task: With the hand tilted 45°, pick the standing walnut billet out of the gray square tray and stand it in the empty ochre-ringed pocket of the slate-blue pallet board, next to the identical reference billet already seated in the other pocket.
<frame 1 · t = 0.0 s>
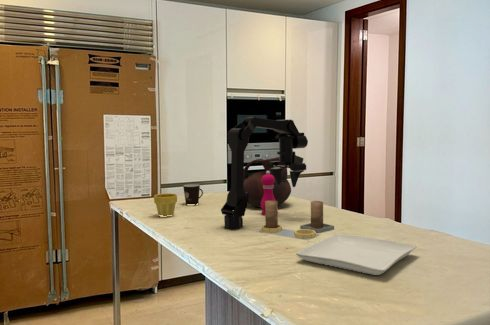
hand: (286, 185, 184), 15 cm above the table, tool pointing down, fingers open, 9 cm apart
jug: (266, 206, 217), on the table
gray square tray: (317, 232, 163), on the table
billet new: (317, 230, 163), resting on gray square tray
coffee mug: (193, 205, 224), on the table
square plate: (357, 260, 131), on the table
pink bowling pin: (268, 214, 197), on the table
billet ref: (271, 230, 163), point 1 cm above the table, touching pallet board
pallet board: (287, 236, 158), on the table
plant pot: (166, 216, 198), on the table
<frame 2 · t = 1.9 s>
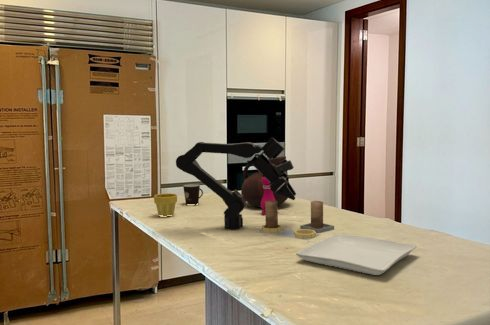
hand: (295, 197, 163), 13 cm above the table, tool tilted 45°, fingers open, 9 cm apart
nothing on the table moved.
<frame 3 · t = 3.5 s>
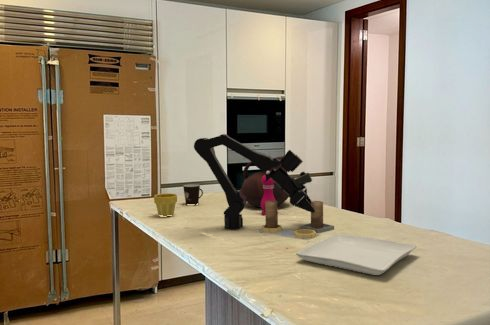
hand: (314, 209, 163), 9 cm above the table, tool tilted 45°, fingers open, 9 cm apart
nothing on the table moved.
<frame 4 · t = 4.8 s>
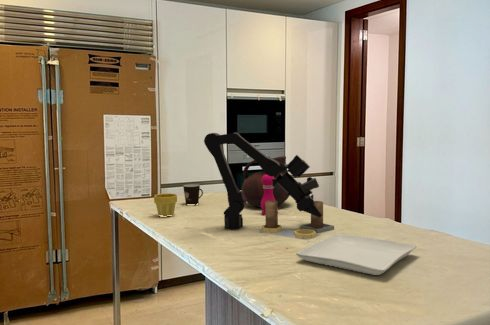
hand: (320, 215, 162), 7 cm above the table, tool tilted 45°, fingers closed on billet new, 5 cm apart
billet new: (317, 230, 163), point 1 cm above the table, touching gripper, gray square tray
everything else where it was.
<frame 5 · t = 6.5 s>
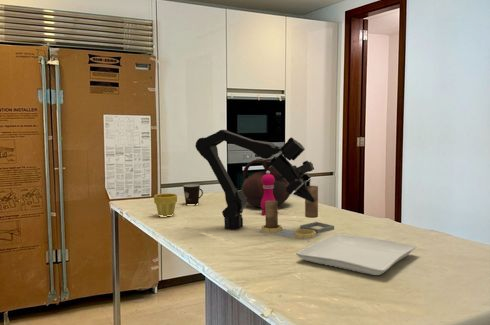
hand: (315, 200, 156), 13 cm above the table, tool tilted 45°, fingers closed on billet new, 5 cm apart
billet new: (311, 216, 157), point 7 cm above the table, touching gripper
everything else where it was.
when the fingers open (8 cm above the table, at t = 8.5 s): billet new stays where it is, resting on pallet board.
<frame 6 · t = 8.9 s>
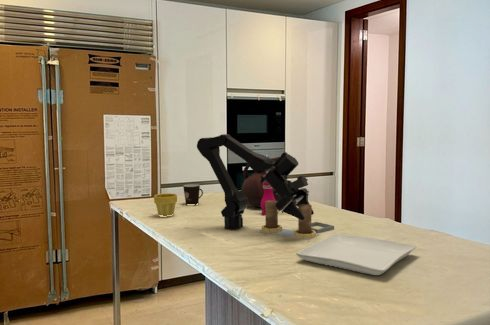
hand: (308, 216, 152), 8 cm above the table, tool tilted 45°, fingers open, 9 cm apart
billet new: (304, 235, 154), point 1 cm above the table, touching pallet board
everything else where it was.
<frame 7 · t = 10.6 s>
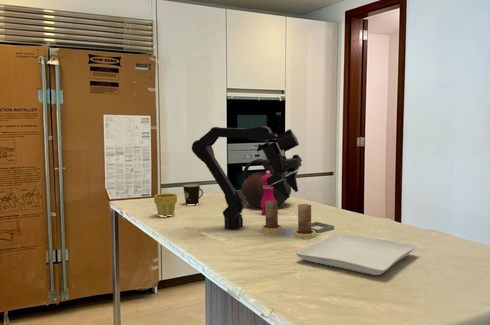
hand: (292, 194, 161), 15 cm above the table, tool tilted 25°, fingers open, 9 cm apart
nothing on the table moved.
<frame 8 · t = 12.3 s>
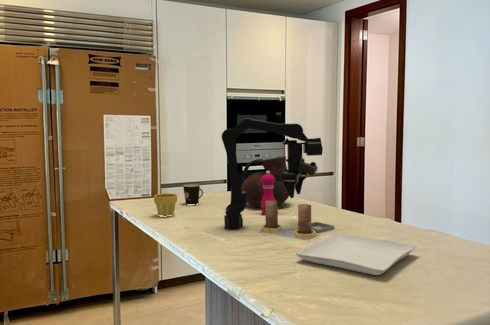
hand: (295, 196, 168), 13 cm above the table, tool pointing down, fingers open, 9 cm apart
nothing on the table moved.
at the end: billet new 0.0 cm from the target spot, point 1.2 cm above the table; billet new tilted 0°; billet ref moved 0.1 cm from its start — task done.
